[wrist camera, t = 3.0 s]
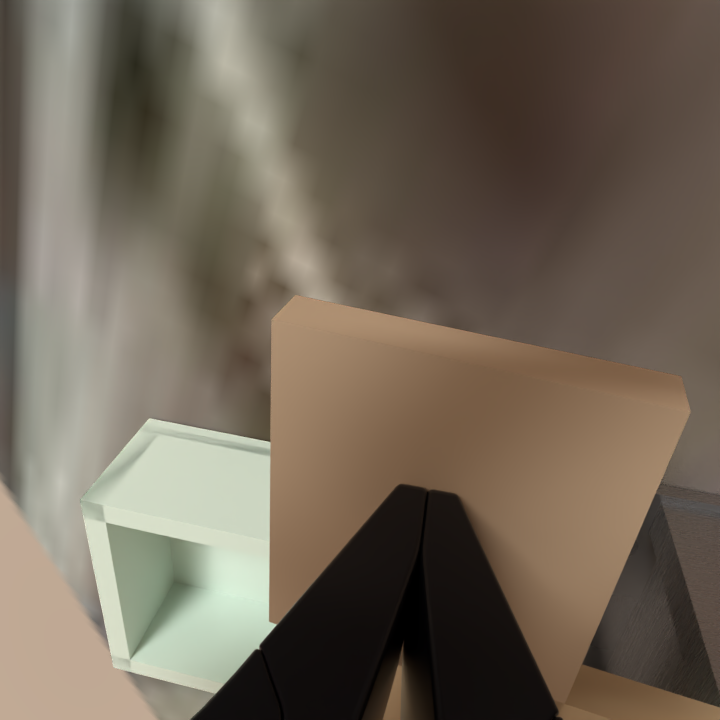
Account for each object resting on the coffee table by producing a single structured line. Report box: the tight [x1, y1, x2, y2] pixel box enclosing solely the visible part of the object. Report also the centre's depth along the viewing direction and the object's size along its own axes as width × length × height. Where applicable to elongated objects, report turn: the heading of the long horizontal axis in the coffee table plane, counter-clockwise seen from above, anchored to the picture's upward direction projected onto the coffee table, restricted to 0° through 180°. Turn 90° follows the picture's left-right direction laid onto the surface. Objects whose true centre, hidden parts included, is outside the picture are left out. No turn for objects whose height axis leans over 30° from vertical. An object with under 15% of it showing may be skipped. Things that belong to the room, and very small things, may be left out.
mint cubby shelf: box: [80, 418, 277, 694], centre depth 18 cm, size 10×7×4 cm
